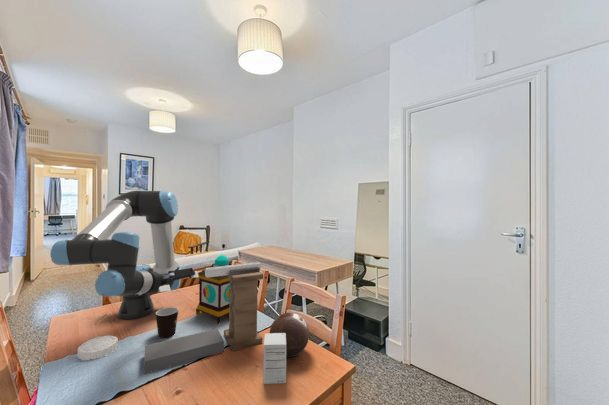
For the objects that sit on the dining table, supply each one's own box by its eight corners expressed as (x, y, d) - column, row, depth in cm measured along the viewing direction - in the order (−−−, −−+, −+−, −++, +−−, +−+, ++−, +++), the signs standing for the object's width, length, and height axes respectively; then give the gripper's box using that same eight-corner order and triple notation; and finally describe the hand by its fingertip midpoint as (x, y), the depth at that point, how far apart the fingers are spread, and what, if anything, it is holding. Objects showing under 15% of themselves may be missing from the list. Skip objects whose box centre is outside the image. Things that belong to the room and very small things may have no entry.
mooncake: (120, 352, 98) (120, 342, 98) (78, 365, 90) (78, 355, 90) (115, 339, 107) (115, 330, 107) (76, 351, 98) (76, 341, 98)
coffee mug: (168, 341, 106) (168, 316, 106) (150, 338, 108) (150, 314, 107) (186, 327, 117) (187, 305, 117) (170, 325, 119) (170, 303, 119)
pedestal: (223, 334, 111) (224, 266, 111) (250, 328, 118) (251, 263, 118) (232, 351, 99) (234, 274, 99) (262, 342, 106) (263, 270, 106)
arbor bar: (205, 275, 102) (205, 268, 102) (258, 268, 113) (258, 262, 113) (206, 277, 99) (206, 269, 99) (260, 270, 111) (260, 263, 111)
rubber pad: (144, 356, 95) (144, 345, 95) (217, 338, 109) (217, 328, 109) (144, 373, 86) (144, 361, 86) (223, 351, 99) (224, 340, 99)
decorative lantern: (249, 311, 135) (250, 254, 135) (218, 326, 119) (219, 261, 119) (223, 302, 146) (224, 249, 146) (191, 315, 129) (192, 255, 129)
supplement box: (264, 369, 89) (264, 332, 89) (285, 368, 90) (286, 332, 90) (262, 384, 82) (263, 344, 82) (286, 383, 82) (286, 344, 82)
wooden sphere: (312, 364, 92) (312, 322, 92) (269, 368, 90) (270, 324, 90) (305, 341, 107) (305, 305, 107) (268, 344, 105) (269, 307, 105)
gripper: (115, 308, 90) (159, 302, 110) (178, 277, 88) (211, 277, 108) (112, 287, 92) (156, 285, 112) (172, 256, 91) (206, 260, 111)
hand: (183, 281), depth 110 cm, fingers open, 13 cm apart
